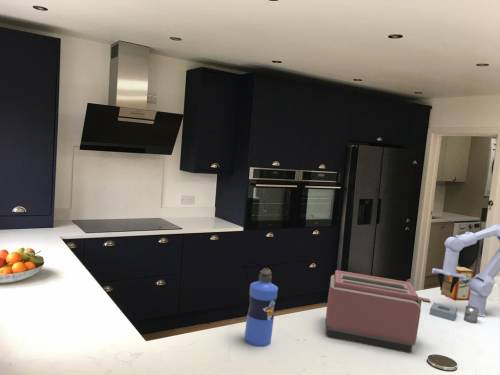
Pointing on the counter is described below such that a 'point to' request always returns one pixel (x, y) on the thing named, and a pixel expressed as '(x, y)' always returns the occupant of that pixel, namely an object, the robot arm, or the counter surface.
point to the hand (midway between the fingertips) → (446, 291)
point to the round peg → (471, 314)
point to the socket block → (443, 311)
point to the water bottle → (261, 310)
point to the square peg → (446, 288)
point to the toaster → (373, 311)
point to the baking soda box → (461, 285)
